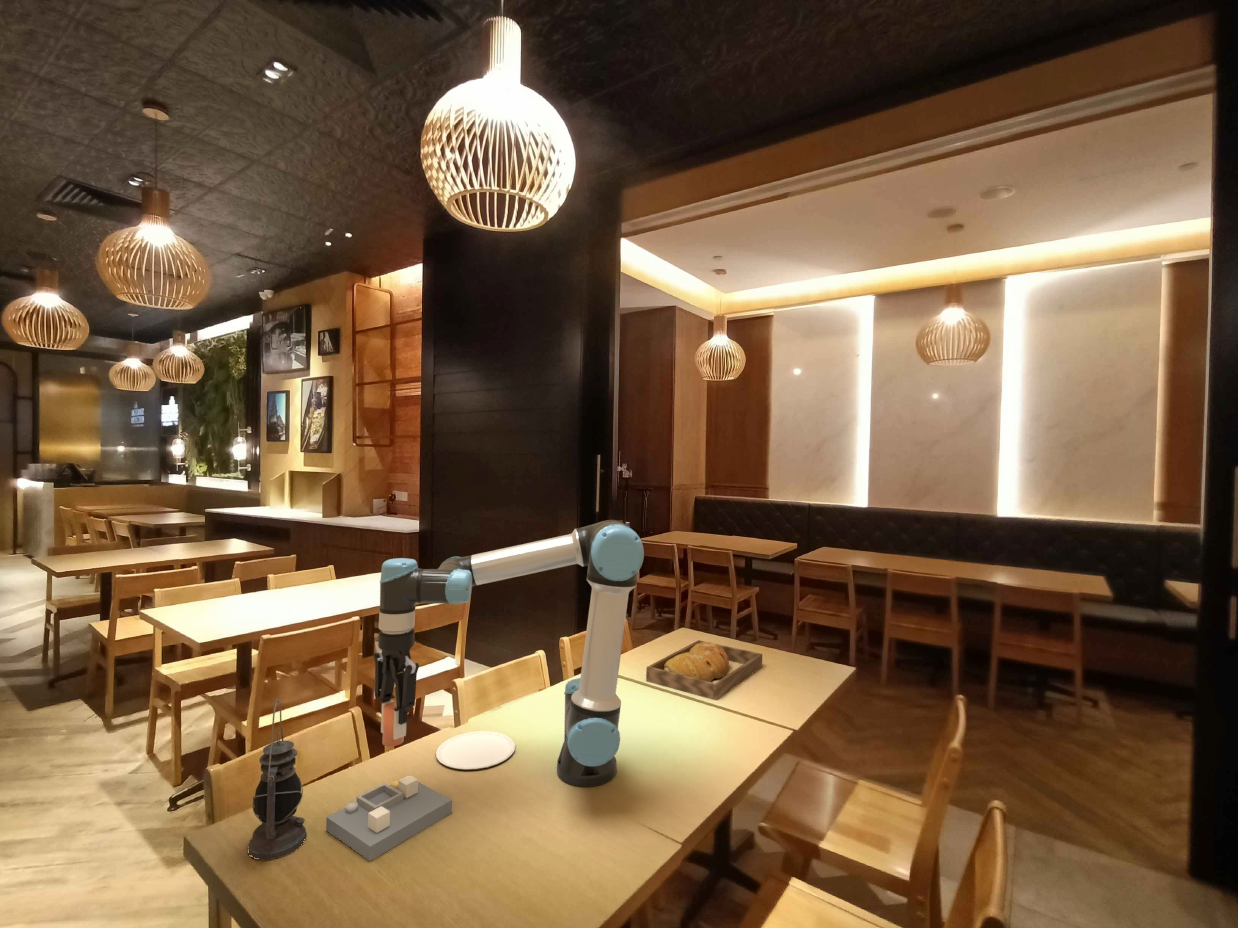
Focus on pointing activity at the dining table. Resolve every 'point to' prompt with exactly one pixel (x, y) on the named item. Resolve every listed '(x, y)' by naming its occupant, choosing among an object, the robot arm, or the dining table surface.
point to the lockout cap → (390, 726)
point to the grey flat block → (404, 818)
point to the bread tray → (701, 687)
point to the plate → (475, 750)
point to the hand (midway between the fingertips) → (393, 733)
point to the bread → (700, 662)
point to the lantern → (277, 802)
